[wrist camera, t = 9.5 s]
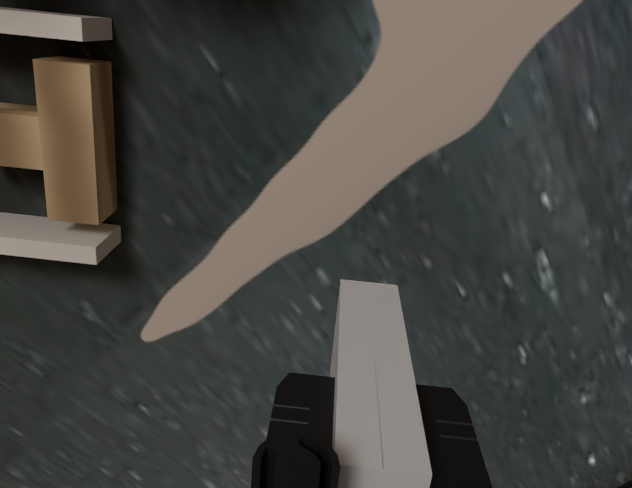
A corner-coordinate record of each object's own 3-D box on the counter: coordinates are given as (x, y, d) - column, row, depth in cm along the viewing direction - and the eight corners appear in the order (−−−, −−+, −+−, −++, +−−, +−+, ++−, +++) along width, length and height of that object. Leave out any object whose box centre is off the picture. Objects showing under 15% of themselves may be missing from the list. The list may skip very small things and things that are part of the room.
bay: (111, 18, 41) (81, 17, 36) (121, 241, 47) (96, 264, 43) (-87, -3, 41) (-143, -6, 36) (-49, 222, 48) (-92, 244, 43)
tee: (111, 61, 42) (89, 64, 38) (117, 209, 46) (98, 225, 43) (-19, 47, 42) (-53, 50, 38) (0, 197, 46) (-29, 212, 43)
